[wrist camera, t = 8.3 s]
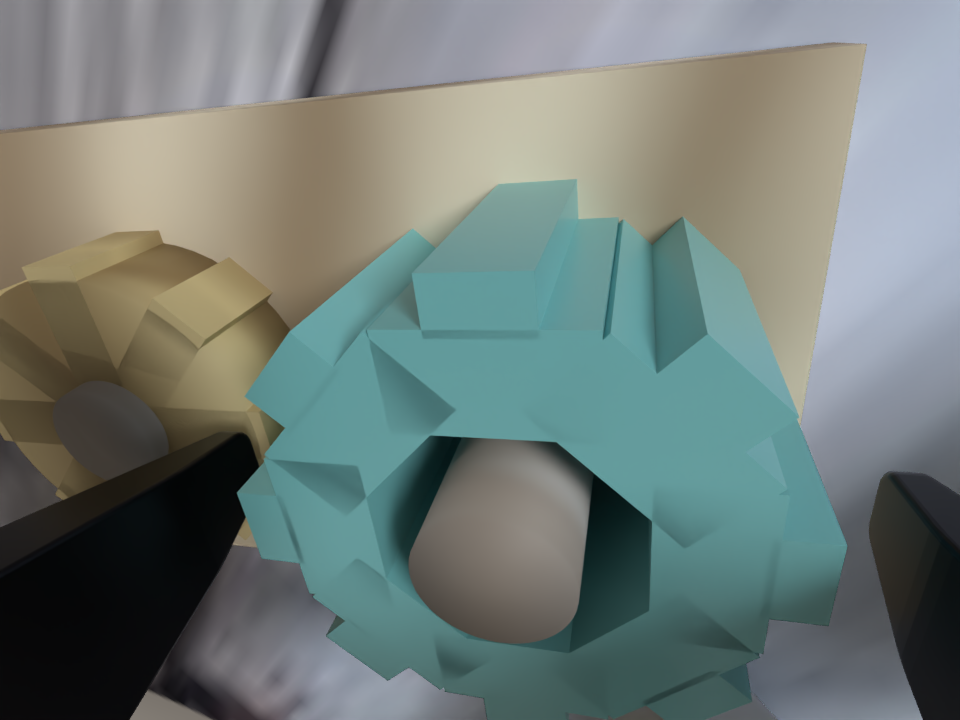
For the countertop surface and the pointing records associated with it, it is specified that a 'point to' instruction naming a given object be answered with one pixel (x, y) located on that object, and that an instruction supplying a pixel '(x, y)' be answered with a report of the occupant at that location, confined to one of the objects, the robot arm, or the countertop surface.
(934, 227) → the countertop surface
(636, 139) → the gear board
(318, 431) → the teal gear
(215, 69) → the countertop surface
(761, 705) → the plastic bottle
